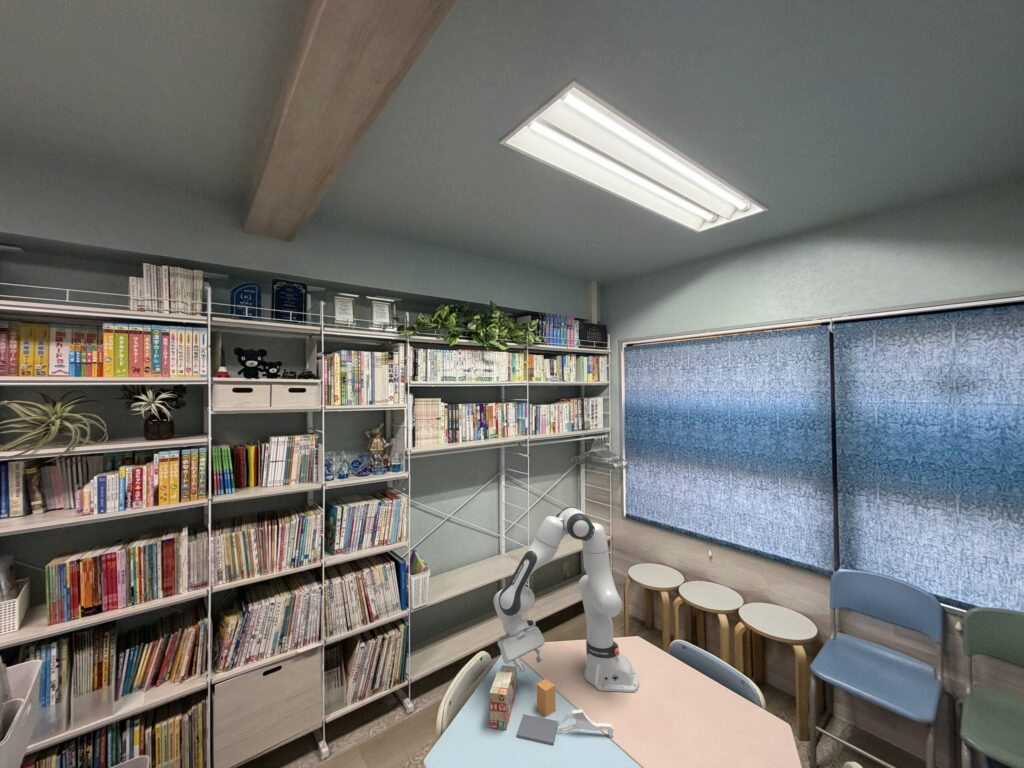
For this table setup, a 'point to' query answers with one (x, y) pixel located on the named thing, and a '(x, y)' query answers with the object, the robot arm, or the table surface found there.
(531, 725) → the slate mat
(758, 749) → the table surface
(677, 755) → the table surface
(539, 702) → the orange block
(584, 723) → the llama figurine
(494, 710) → the stack of blocks
